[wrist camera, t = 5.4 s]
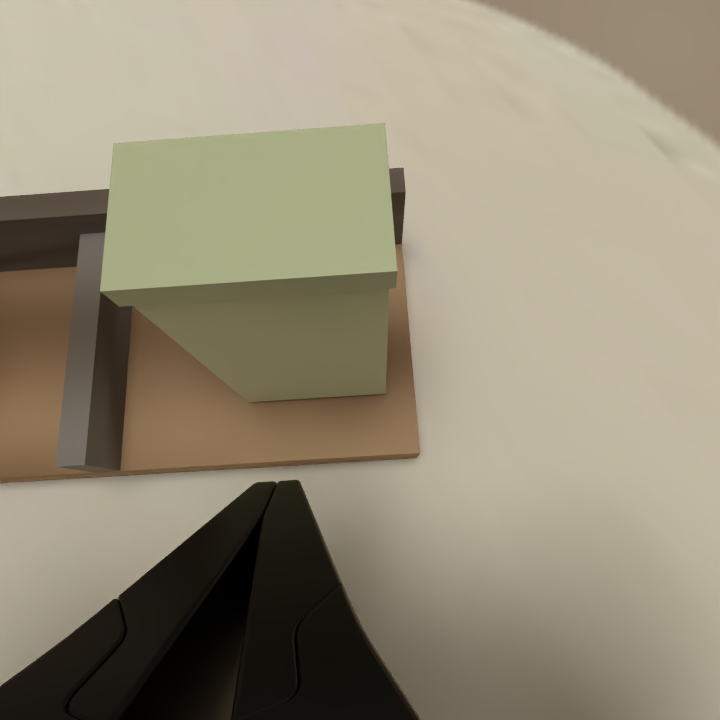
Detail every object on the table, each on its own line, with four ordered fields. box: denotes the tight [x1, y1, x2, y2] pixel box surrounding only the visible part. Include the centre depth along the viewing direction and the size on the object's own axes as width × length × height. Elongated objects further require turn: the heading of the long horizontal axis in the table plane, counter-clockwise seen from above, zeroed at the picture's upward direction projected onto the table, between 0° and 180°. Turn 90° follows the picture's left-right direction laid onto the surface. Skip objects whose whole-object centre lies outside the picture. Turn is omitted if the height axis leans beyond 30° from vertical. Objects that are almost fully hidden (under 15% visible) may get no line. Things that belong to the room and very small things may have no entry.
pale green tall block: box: [100, 123, 397, 402], centre depth 12 cm, size 3×4×9 cm, turn 93°
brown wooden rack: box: [0, 168, 420, 483], centre depth 16 cm, size 8×19×6 cm, turn 93°
